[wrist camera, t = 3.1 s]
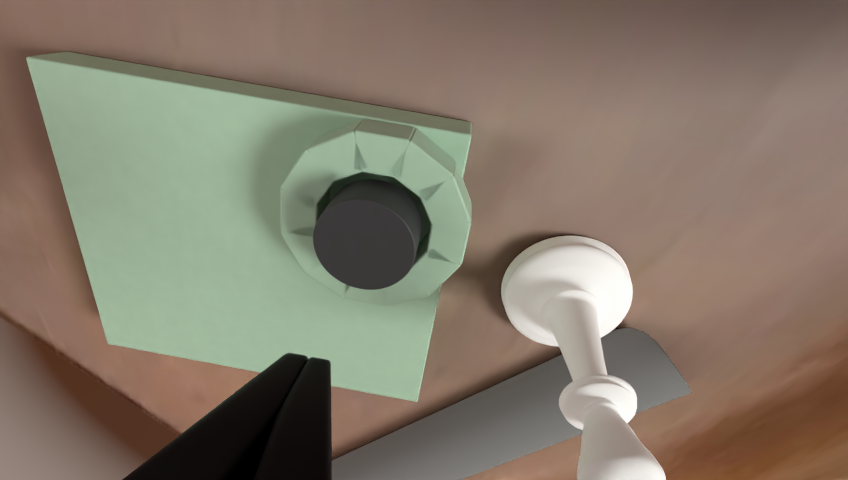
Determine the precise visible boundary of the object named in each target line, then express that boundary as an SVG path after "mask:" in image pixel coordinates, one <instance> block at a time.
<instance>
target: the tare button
mask: <svg viewBox="0 0 848 480" xmlns="http://www.w3.org/2000/svg"><path fill="white" fill-rule="evenodd" d="M421 230H422V222H421V217H420V213H419V211H418V208H417V206H416V205H415V203H414V202H413V200H412V199H411V198H410V197H409V196H408V195H407V194H406V193H405V192H404V191H403V190H401V189H400V188H399V187H397V186H395V185H393V184H391V183H388V182H386V181H382V180H376V179H364V180H358V181H354V182H352V183H350V184H348V185H346V186H344V187H343V188H342V189H340V190H339V191H338V192H337V193H336V195H335V196H334V197H333V199H332V200H331V201H330V203H329V204H328V206H327V207H326V208H325V210H324V211H323V213H322V214H321V215H320V217H319V219H318V220H317V222H316V225H315V228H314V232H313V244H314V249H315V252H316V255H317V257H318V259H319V261H320V263H321V264H322V266H323V267H324V268H325V269H326V271H327V272H328V273H329V274H331V275H332V276H333V277H334V278H336V279H337V280H339V281H340V282H342V283H344V284H346V285H348V286H351V287H354V288H359V289H365V290H376V289H383V288H386V287H389V286H392V285H394V284H396V283H397V282H399V281H400V280H402V279H403V278H404V277H405V276H406V275H407V274H408V273H409V271H410V270H411V268H412V266H413V264H414V261H415V257H416V253H417V249H418V244H419V240H420V236H421Z"/></svg>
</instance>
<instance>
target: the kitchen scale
mask: <svg viewBox="0 0 848 480" xmlns="http://www.w3.org/2000/svg"><path fill="white" fill-rule="evenodd" d="M26 61H27V64H28V67H29V71H30V74H31V78H32V81H33V85H34V88H35V92H36V95H37V99H38V102H39V106H40V109H41V113H42V116H43V120H44V123H45V127H46V130H47V134H48V137H49V141H50V144H51V148H52V151H53V155H54V158H55V162H56V165H57V169H58V172H59V176H60V179H61V183H62V186H63V190H64V193H65V197H66V200H67V204H68V207H69V211H70V214H71V218H72V221H73V224H74V228H75V231H76V235H77V238H78V242H79V245H80V249H81V252H82V256H83V259H84V263H85V266H86V270H87V273H88V277H89V280H90V284H91V287H92V291H93V294H94V298H95V301H96V305H97V308H98V312H99V315H100V319H101V322H102V326H103V329H104V333H105V336H106V340H107V343H108V344H112V345H117V346H122V347H128V348H133V349H138V350H144V351H149V352H154V353H160V354H165V355H170V356H176V357H181V358H186V359H191V360H197V361H202V362H207V363H213V364H218V365H223V366H229V367H234V368H239V369H245V370H250V371H255V372H262V371H264V370H265V369H266V368H267V367H269V366H270V365H271V364H273V363H274V362H275V361H277V360H278V359H279V358H280V357H282V356H283V355H284V354H286V353H294V354H300V355H305V356H307V357H308V358H311V357H316V358H321V359H326V360H329V361H330V362H331V386H335V387H340V388H346V389H351V390H356V391H362V392H367V393H372V394H378V395H383V396H388V397H394V398H399V399H404V400H410V401H415V402H417V401H418V397H419V392H420V387H421V383H422V378H423V373H424V368H425V363H426V358H427V353H428V348H429V343H430V338H431V333H432V329H433V324H434V319H435V314H436V309H437V304H438V299H439V294H440V289H441V284H442V283H443V282H444V281H446V280H447V279H448V278H449V277H450V276H451V275H452V274H453V273H454V272H455V271H456V270H457V269H458V268H459V267H460V265H461V264H462V262H463V258H464V253H465V249H466V245H467V240H468V236H469V231H470V227H471V212H472V206H471V200H470V197H469V195H468V192H467V189H466V186H465V184H464V181H463V176H464V171H465V166H466V162H467V157H468V152H469V147H470V142H471V137H472V123H471V122H468V121H462V120H456V119H451V118H445V117H439V116H433V115H428V114H422V113H416V112H411V111H405V110H399V109H393V108H388V107H382V106H376V105H370V104H365V103H359V102H353V101H348V100H342V99H336V98H330V97H325V96H319V95H313V94H307V93H302V92H296V91H290V90H285V89H279V88H273V87H267V86H262V85H256V84H250V83H244V82H239V81H233V80H227V79H222V78H216V77H210V76H204V75H199V74H193V73H187V72H182V71H176V70H170V69H164V68H159V67H153V66H147V65H141V64H136V63H130V62H124V61H119V60H113V59H107V58H101V57H96V56H90V55H84V54H78V53H73V52H67V51H66V52H59V53H51V54H44V55H37V56H29V57H26ZM364 179H376V180H382V181H386V182H388V183H391V184H393V185H395V186H397V187H399V188H400V189H401V190H403V191H404V192H405V193H406V194H407V195H408V196H409V197H410V198H411V199H412V200H413V202H414V203H415V205H416V206H417V208H418V211H419V213H420V217H421V222H422V230H421V236H420V240H419V244H418V249H417V253H416V257H415V261H414V264H413V266H412V268H411V270H410V271H409V273H408V274H407V275H406V276H405V277H404V278H403V279H402V280H400V281H399V282H397V283H396V284H394V285H392V286H389V287H386V288H383V289H376V290H365V289H359V288H354V287H351V286H348V285H346V284H344V283H342V282H340V281H339V280H337V279H336V278H334V277H333V276H332V275H331V274H329V273H328V272H327V271H326V269H325V268H324V267H323V266H322V264H321V263H320V261H319V259H318V257H317V255H316V252H315V249H314V244H313V232H314V228H315V225H316V222H317V220H318V219H319V217H320V215H321V214H322V213H323V211H324V210H325V208H326V207H327V206H328V204H329V203H330V201H331V200H332V199H333V197H334V196H335V195H336V193H337V192H338V191H339V190H340V189H342V188H343V187H344V186H346V185H348V184H350V183H352V182H354V181H358V180H364Z"/></svg>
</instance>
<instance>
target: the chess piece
mask: <svg viewBox="0 0 848 480" xmlns="http://www.w3.org/2000/svg"><path fill="white" fill-rule="evenodd" d="M632 295H633V289H632V283H631V279H630V275H629V271H628V268H627V266H626V264H625V262H624V261H623V259H622V258H621V257H620V255H619V254H618V253H617V252H616V251H614V250H613V249H612V248H611V247H609V246H607V245H606V244H604V243H602V242H600V241H597V240H595V239H591V238H587V237H582V236H559V237H553V238H549V239H546V240H543V241H540V242H538V243H536V244H534V245H532V246H530V247H528V248H527V249H525V250H524V251H523V252H521V253H520V254H519V255H518V256H517V257H516V258H515V259H514V260H513V261H512V262H511V264H510V265H509V267H508V268H507V270H506V272H505V274H504V277H503V280H502V285H501V297H502V302H503V305H504V307H505V311H506V314H507V316H508V318H509V320H510V321H511V323H512V324H513V326H514V327H515V328H516V329H517V330H518V331H519V332H521V333H522V334H523V335H525V336H526V337H528V338H530V339H531V340H534V341H536V342H538V343H542V344H545V345H550V346H557V347H559V348H560V350H561V352H562V355H563V357H564V360H565V362H566V364H567V367H568V369H569V372H570V375H571V377H572V380H573V382H571V383H570V384H569V385H567V386H566V387H565V388H564V390H563V391H562V393H561V395H560V397H559V407H560V410H561V412H562V414H563V415H564V417H565V419H566V420H567V421H568V422H569V423H570V424H571V425H573V426H574V427H576V428H578V429H581V430H583V432H582V438H581V453H580V458H579V461H578V468H577V480H666V476H665V473H664V471H663V469H662V467H661V466H660V464H659V463H658V461H657V460H656V459H655V457H654V456H653V455H652V454H651V452H650V451H649V450H648V449H647V448H646V447H645V446H644V445H643V444H642V443H641V441H640V440H639V439H638V438H637V436H636V434H635V433H634V431H633V430H632V429H631V427H630V426H629V425H628V424H627V423H628V422H629V421H630V420H631V419H632V418H633V416H634V415H635V413H636V410H637V396H636V393H635V391H634V389H633V388H632V386H631V385H630V384H629V383H627V382H626V381H624V380H622V379H620V378H618V377H615V376H611V375H607V370H606V366H605V361H604V356H603V350H602V344H601V338H602V337H603V336H605V335H607V334H608V333H610V332H611V331H612V330H613V329H615V328H616V327H617V326H618V325H619V324H620V323H621V321H622V320H623V319H624V317H625V316H626V314H627V312H628V310H629V308H630V305H631V302H632Z"/></svg>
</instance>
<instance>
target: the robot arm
mask: <svg viewBox="0 0 848 480" xmlns="http://www.w3.org/2000/svg"><path fill="white" fill-rule="evenodd" d="M123 480H332V442H331V362H330V361H329V360H326V359H321V358H316V357H311V358H308V357H307V356H305V355H300V354H294V353H286V354H284V355H283V356H282V357H280V358H279V359H278V360H277V361H275V362H274V363H273V364H271V365H270V366H269V367H267V368H266V369H265V370H264V371H262V372H261V373H260V374H258V375H257V376H256V377H255V378H253V379H252V380H251V381H249V382H248V383H247V384H245V385H244V386H243V387H242V388H240V389H239V390H238V391H236V392H235V393H234V394H233V395H231V396H230V397H229V398H227V399H226V400H225V401H224V402H222V403H221V404H220V405H218V406H217V407H216V408H214V409H213V410H212V411H211V412H209V413H208V414H207V415H205V416H204V417H203V418H202V419H200V420H199V421H198V422H196V423H195V424H194V425H192V426H191V427H190V428H189V429H187V430H186V431H185V432H183V433H182V434H181V435H180V436H178V437H177V438H176V439H174V440H173V441H172V442H170V443H169V444H168V445H167V446H165V447H164V448H163V449H161V450H160V451H159V452H158V453H157V454H155V455H154V456H152V457H151V458H150V459H148V460H147V461H146V462H145V463H143V464H142V465H141V466H140V467H138V468H137V469H136V470H134V471H133V472H132V473H130V474H129V475H128V476H127V477H125V478H124V479H123Z"/></svg>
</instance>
